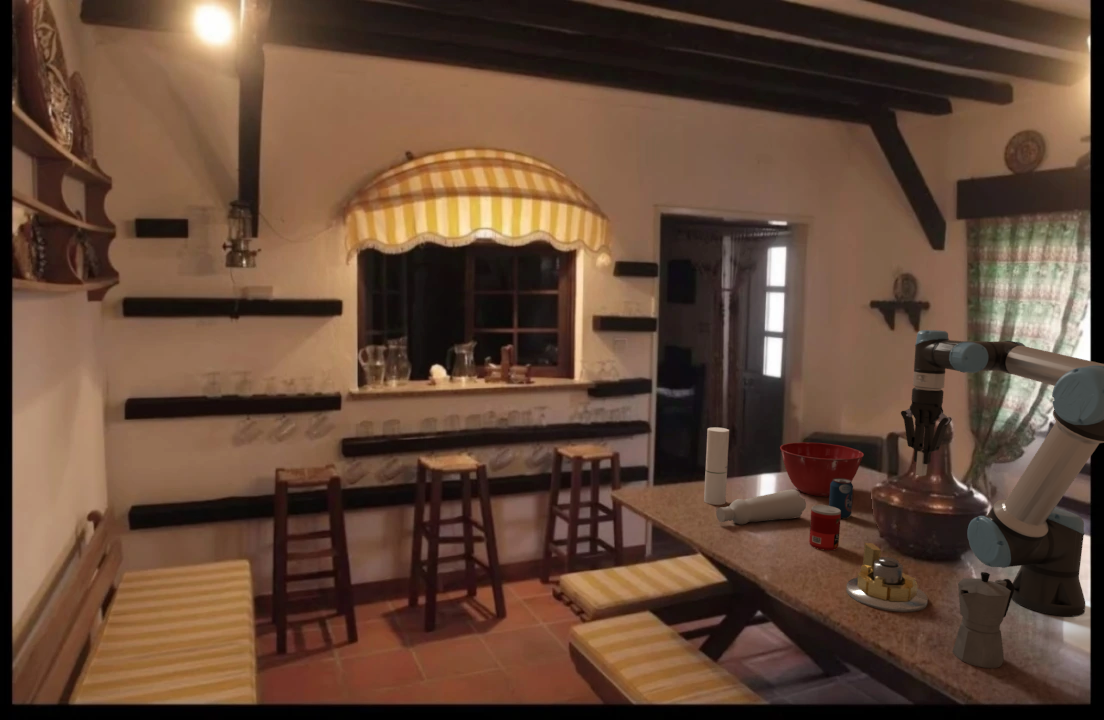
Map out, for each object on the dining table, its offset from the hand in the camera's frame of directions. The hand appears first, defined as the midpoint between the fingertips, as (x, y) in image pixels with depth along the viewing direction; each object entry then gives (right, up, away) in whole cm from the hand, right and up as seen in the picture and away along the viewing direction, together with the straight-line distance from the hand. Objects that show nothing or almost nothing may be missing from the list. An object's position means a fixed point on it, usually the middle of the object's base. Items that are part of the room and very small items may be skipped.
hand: (920, 474), depth 206 cm
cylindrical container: (-44, -18, +55) cm, 73 cm away
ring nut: (-18, -25, -18) cm, 36 cm away
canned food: (-21, -23, +14) cm, 34 cm away
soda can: (-6, -20, +43) cm, 47 cm away
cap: (-18, -26, -20) cm, 38 cm away
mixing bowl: (-3, -17, +71) cm, 73 cm away
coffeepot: (-11, -30, -49) cm, 59 cm away
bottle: (-34, -20, +36) cm, 53 cm away
